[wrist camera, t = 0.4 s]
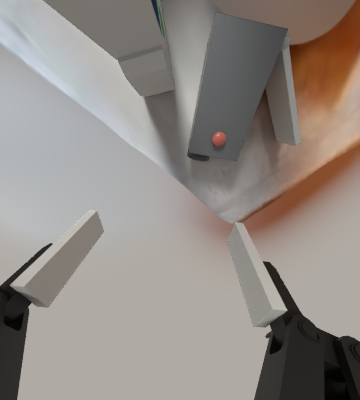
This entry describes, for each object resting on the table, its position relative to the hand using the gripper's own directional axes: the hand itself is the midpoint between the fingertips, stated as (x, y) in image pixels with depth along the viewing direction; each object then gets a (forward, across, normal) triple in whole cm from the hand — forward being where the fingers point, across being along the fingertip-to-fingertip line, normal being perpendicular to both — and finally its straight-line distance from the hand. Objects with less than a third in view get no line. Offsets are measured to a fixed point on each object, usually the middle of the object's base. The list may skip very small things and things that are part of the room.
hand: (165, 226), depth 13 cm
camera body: (+28, +8, +12) cm, 31 cm away
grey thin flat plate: (+27, +19, +13) cm, 36 cm away
